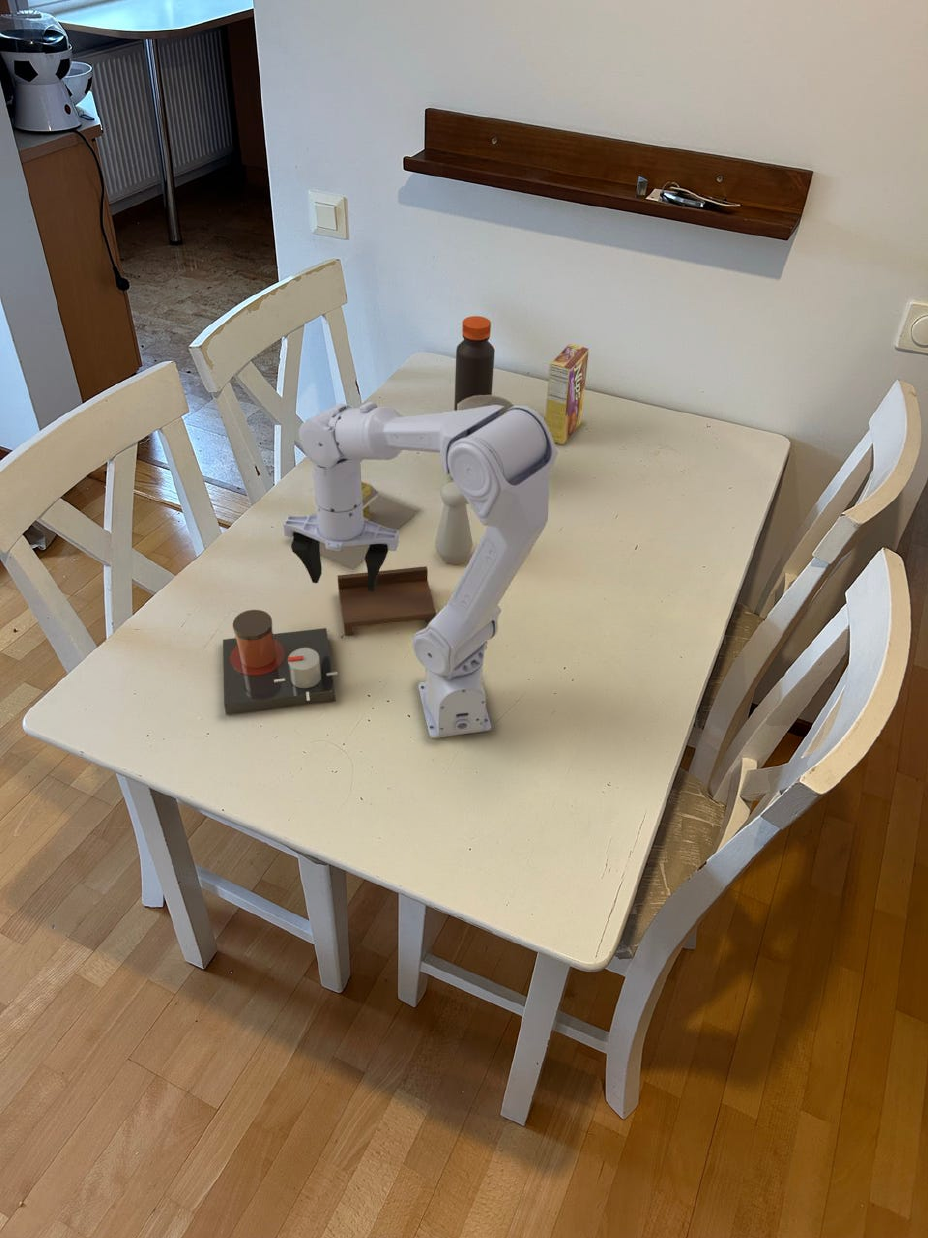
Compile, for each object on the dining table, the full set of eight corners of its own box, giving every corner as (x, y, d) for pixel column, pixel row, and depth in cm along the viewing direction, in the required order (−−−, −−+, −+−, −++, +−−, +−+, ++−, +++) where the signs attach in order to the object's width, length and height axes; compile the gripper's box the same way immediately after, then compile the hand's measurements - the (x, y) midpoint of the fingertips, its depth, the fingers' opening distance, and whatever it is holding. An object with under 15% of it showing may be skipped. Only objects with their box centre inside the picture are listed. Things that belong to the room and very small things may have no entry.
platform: (418, 511, 151) (418, 477, 146) (352, 569, 139) (350, 535, 135) (359, 487, 155) (357, 454, 150) (291, 541, 143) (287, 507, 139)
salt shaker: (467, 570, 140) (471, 501, 131) (431, 565, 141) (432, 495, 132) (475, 547, 144) (479, 478, 135) (439, 542, 145) (441, 473, 136)
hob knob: (319, 664, 121) (317, 644, 119) (322, 686, 118) (320, 666, 116) (289, 668, 121) (286, 647, 118) (291, 690, 118) (288, 669, 115)
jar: (284, 652, 123) (280, 619, 119) (258, 674, 120) (253, 641, 116) (256, 637, 125) (251, 604, 121) (230, 658, 122) (224, 625, 117)
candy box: (560, 417, 174) (569, 342, 164) (581, 423, 173) (591, 348, 162) (541, 439, 168) (549, 362, 158) (562, 445, 167) (572, 368, 156)
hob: (341, 707, 119) (340, 695, 117) (226, 721, 116) (224, 710, 115) (331, 637, 128) (330, 626, 127) (224, 649, 126) (222, 638, 124)
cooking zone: (286, 672, 120) (286, 671, 120) (230, 678, 119) (230, 678, 119) (283, 634, 125) (283, 634, 125) (229, 640, 124) (229, 640, 124)
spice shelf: (436, 625, 131) (436, 602, 128) (345, 636, 128) (343, 612, 125) (426, 589, 136) (426, 566, 133) (339, 598, 134) (337, 575, 131)
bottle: (496, 421, 172) (503, 320, 158) (477, 437, 168) (483, 334, 154) (466, 410, 175) (470, 309, 161) (446, 425, 170) (449, 323, 157)
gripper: (271, 509, 110) (282, 594, 120) (389, 525, 109) (391, 609, 118) (289, 477, 115) (299, 560, 125) (402, 491, 114) (403, 575, 123)
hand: (344, 582), depth 122 cm, fingers open, 7 cm apart
